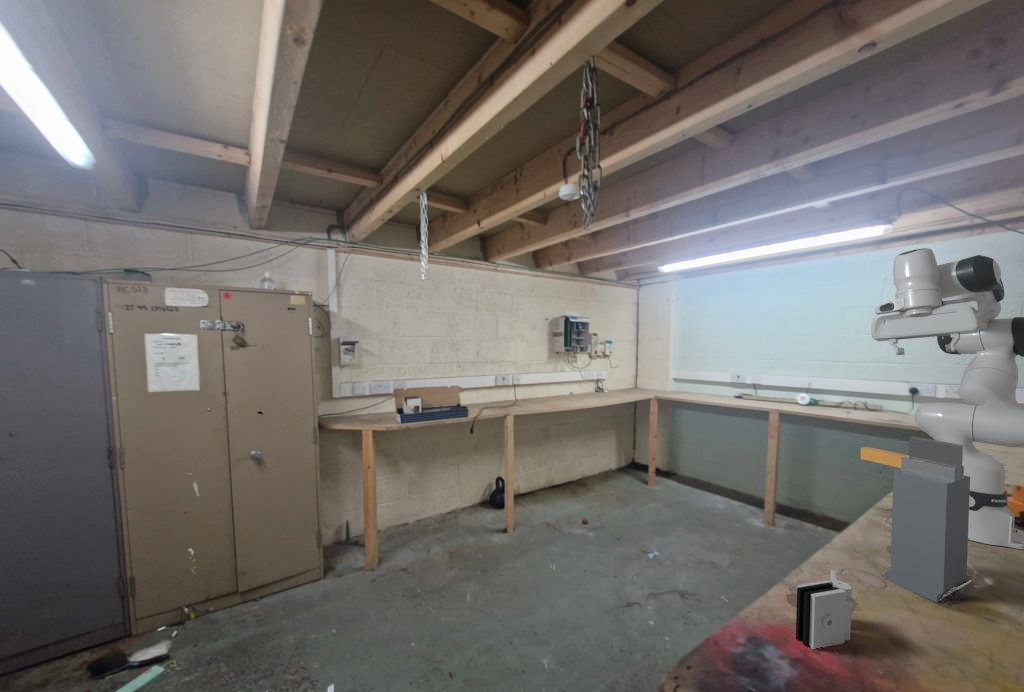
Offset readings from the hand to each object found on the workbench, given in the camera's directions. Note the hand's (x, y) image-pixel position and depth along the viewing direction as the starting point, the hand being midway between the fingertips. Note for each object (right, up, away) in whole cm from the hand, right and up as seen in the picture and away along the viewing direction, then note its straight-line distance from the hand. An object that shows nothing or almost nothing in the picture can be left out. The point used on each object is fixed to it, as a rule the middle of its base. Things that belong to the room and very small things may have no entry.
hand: (924, 353), depth 103 cm
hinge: (-51, -55, -29) cm, 80 cm away
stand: (-12, -55, -12) cm, 57 cm away
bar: (-14, -29, -8) cm, 33 cm away
